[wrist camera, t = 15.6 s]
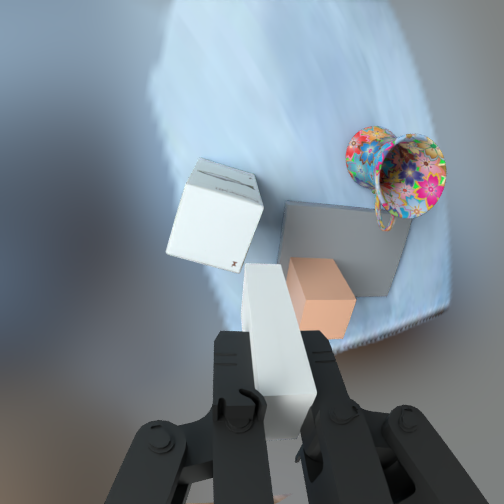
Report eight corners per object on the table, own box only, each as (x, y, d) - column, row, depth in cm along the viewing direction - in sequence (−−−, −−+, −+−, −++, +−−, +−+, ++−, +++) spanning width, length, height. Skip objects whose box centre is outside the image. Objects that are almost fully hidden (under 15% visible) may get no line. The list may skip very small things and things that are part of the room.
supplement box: (255, 172, 37) (268, 207, 26) (236, 224, 40) (239, 277, 29) (198, 154, 36) (185, 181, 24) (182, 208, 39) (164, 256, 28)
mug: (349, 114, 34) (389, 122, 25) (407, 133, 36) (455, 149, 26) (328, 201, 40) (357, 235, 30) (385, 212, 41) (423, 246, 32)
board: (285, 200, 39) (287, 204, 38) (407, 213, 41) (412, 217, 40) (272, 290, 46) (274, 296, 44) (383, 290, 48) (386, 296, 46)
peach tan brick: (290, 257, 42) (305, 299, 33) (332, 258, 42) (356, 299, 34) (283, 294, 44) (296, 340, 36) (323, 294, 45) (342, 338, 37)
